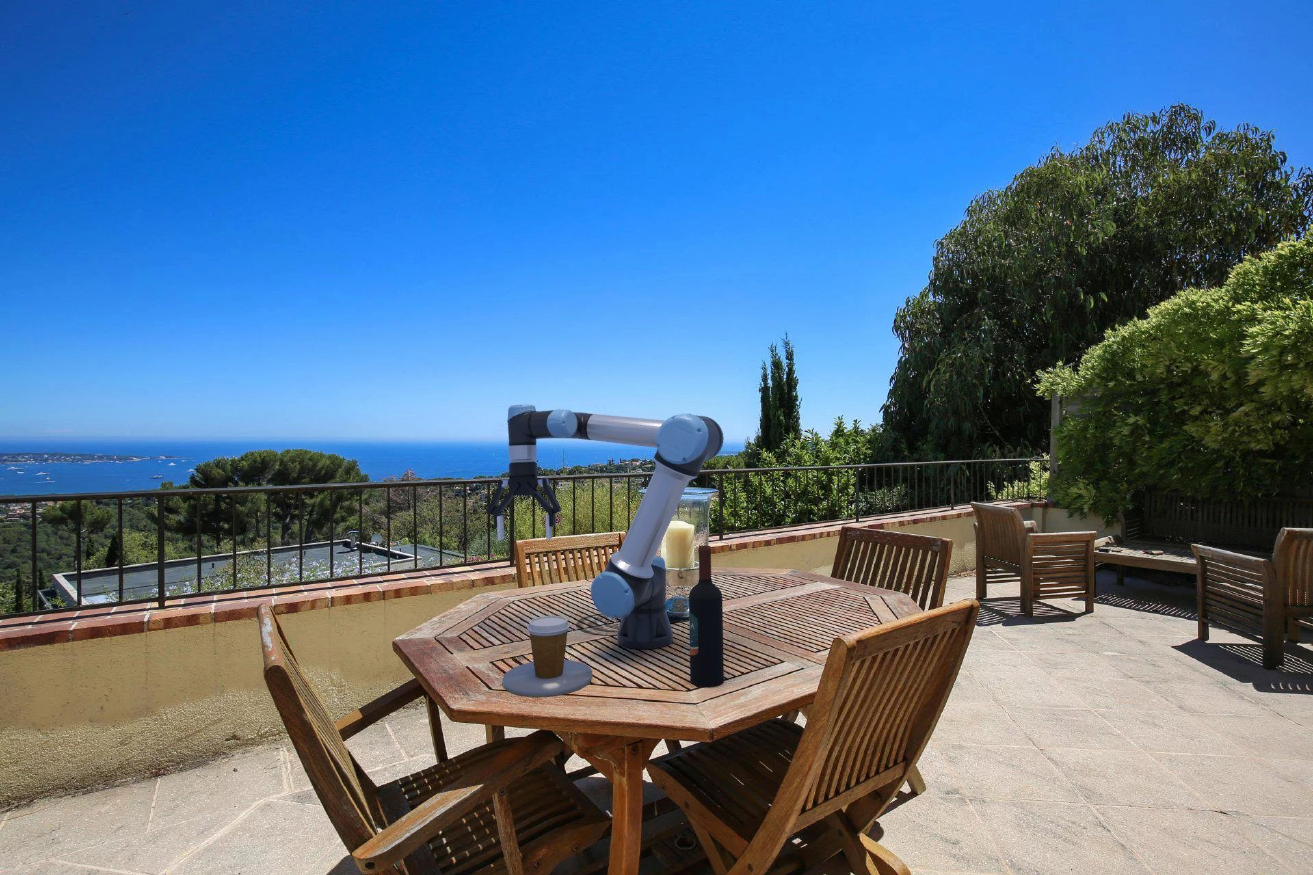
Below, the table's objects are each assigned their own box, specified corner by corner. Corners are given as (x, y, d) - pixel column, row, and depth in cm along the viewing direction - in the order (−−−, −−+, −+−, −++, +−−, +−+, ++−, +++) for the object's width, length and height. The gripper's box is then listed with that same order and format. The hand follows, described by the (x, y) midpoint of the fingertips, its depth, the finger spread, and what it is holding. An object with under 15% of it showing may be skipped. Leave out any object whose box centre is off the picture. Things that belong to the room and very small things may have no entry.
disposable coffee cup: (530, 667, 146) (529, 615, 147) (571, 665, 147) (570, 614, 147) (525, 682, 137) (524, 627, 137) (568, 680, 138) (568, 625, 138)
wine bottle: (714, 689, 134) (712, 550, 135) (684, 683, 138) (681, 547, 139) (729, 678, 140) (727, 545, 141) (700, 672, 145) (697, 543, 145)
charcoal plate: (600, 665, 150) (600, 660, 150) (580, 698, 131) (580, 692, 131) (520, 663, 153) (520, 658, 153) (488, 695, 133) (488, 689, 133)
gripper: (570, 459, 173) (573, 536, 172) (484, 462, 175) (486, 538, 175) (563, 460, 165) (565, 540, 165) (473, 462, 168) (475, 541, 167)
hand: (524, 539), depth 170 cm, fingers open, 13 cm apart
